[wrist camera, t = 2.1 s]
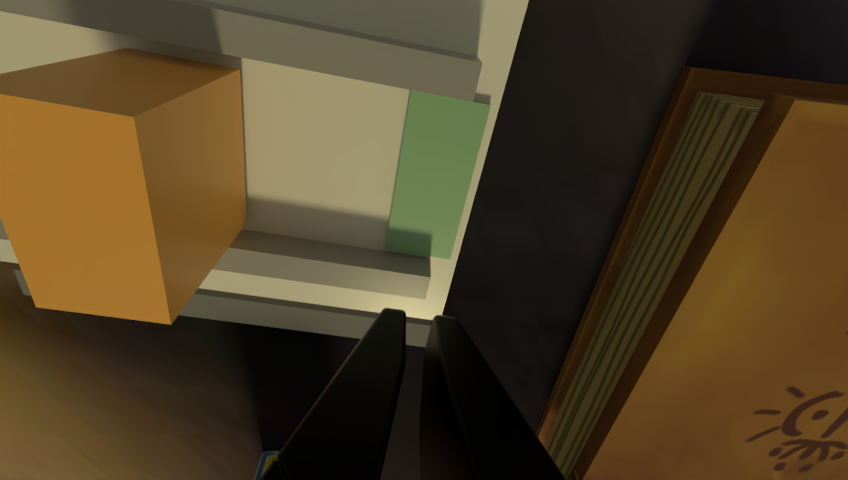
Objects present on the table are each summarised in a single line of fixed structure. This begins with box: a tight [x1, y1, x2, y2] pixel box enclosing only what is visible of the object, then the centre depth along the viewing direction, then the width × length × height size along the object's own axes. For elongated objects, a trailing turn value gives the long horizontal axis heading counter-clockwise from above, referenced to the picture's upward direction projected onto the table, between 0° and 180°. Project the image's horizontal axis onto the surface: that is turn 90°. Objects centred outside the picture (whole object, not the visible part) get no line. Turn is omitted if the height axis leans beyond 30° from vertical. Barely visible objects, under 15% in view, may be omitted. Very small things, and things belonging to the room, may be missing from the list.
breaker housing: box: [0, 0, 529, 320], centre depth 14 cm, size 18×12×4 cm, turn 79°
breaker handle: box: [0, 48, 247, 324], centre depth 11 cm, size 3×5×5 cm, turn 169°
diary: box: [535, 66, 848, 480], centre depth 19 cm, size 23×19×6 cm
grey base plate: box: [13, 266, 431, 347], centre depth 15 cm, size 18×18×1 cm
